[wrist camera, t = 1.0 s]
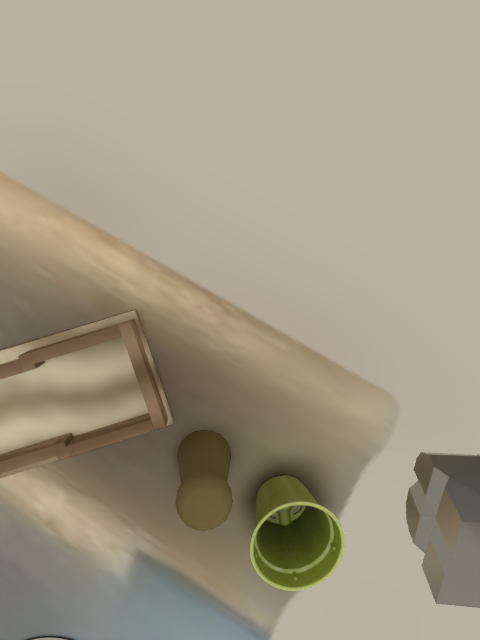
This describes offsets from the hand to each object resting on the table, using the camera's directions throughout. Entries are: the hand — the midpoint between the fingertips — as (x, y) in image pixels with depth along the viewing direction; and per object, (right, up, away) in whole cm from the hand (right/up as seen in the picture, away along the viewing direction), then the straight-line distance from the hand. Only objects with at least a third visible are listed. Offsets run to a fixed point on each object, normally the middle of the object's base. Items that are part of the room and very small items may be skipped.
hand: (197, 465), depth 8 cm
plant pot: (+6, -18, +43) cm, 47 cm away
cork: (-3, -13, +41) cm, 43 cm away
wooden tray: (-21, -6, +39) cm, 44 cm away
